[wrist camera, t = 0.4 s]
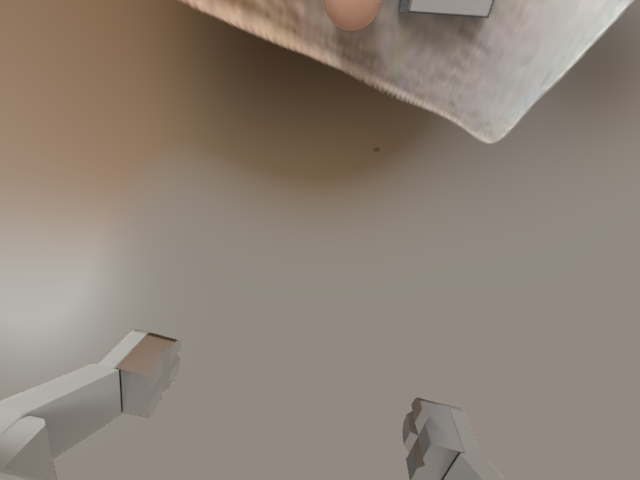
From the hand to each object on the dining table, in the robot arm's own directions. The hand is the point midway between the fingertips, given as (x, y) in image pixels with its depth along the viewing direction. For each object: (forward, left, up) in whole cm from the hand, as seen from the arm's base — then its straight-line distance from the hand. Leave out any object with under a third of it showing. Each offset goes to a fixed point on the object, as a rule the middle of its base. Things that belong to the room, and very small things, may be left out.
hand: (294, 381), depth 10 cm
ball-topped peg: (-6, +5, -50) cm, 50 cm away
